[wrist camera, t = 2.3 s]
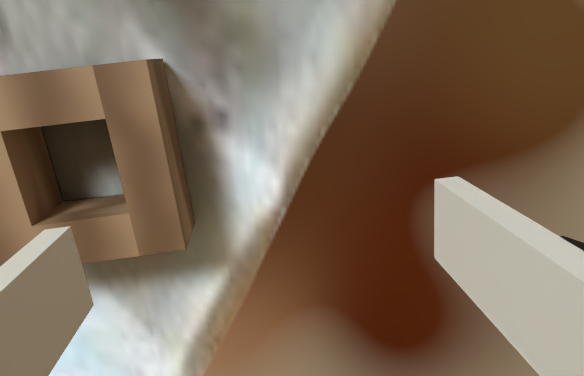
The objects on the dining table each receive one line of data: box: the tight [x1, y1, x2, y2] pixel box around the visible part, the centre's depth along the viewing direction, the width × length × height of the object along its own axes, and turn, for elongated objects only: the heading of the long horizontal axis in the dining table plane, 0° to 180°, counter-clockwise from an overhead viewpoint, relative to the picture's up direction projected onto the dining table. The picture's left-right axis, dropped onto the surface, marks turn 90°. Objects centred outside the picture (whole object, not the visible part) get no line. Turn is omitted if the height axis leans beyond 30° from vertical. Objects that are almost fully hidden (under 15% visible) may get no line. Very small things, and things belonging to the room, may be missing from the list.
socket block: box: [0, 59, 195, 266], centre depth 27 cm, size 16×12×4 cm
